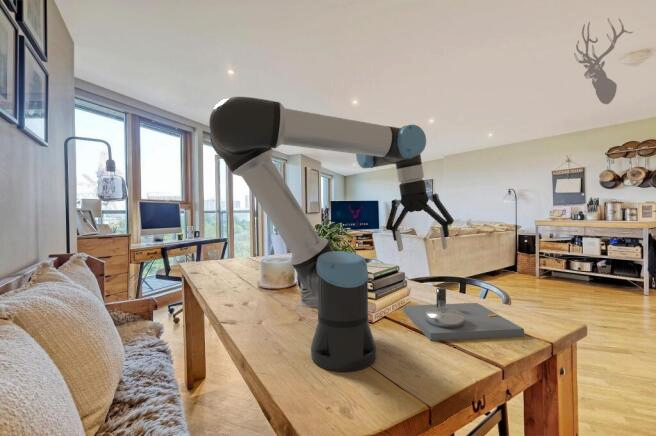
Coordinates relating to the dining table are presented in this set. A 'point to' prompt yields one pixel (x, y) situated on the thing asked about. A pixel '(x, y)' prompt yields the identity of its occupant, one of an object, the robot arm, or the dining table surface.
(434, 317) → the cam lever
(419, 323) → the stand
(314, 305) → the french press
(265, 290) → the dining table surface
